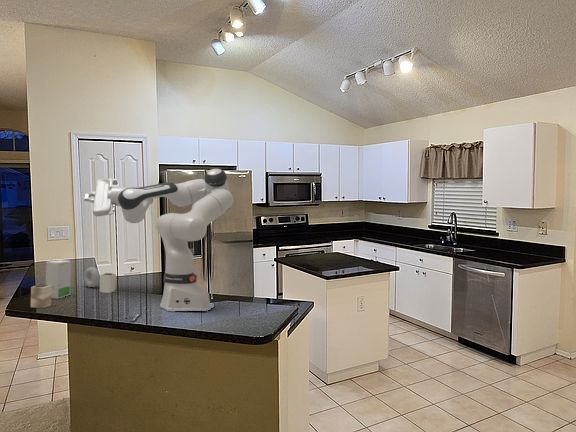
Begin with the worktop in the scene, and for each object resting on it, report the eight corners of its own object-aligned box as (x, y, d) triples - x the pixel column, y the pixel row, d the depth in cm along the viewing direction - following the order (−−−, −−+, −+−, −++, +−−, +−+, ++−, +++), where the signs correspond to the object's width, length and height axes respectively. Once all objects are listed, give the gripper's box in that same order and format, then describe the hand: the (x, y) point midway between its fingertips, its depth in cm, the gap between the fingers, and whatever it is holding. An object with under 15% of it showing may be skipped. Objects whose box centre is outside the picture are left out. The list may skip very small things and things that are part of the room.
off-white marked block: (115, 290, 200) (116, 273, 200) (109, 292, 195) (110, 275, 195) (105, 289, 200) (106, 272, 200) (99, 292, 195) (100, 274, 195)
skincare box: (57, 299, 178) (58, 262, 178) (43, 297, 180) (44, 261, 179) (71, 295, 187) (72, 260, 186) (58, 293, 188) (59, 259, 187)
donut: (101, 288, 203) (101, 267, 202) (94, 289, 200) (95, 268, 199) (88, 285, 208) (89, 265, 207) (81, 286, 205) (82, 266, 204)
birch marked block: (51, 305, 169) (51, 284, 169) (42, 308, 164) (43, 287, 164) (39, 304, 170) (40, 283, 169) (30, 307, 165) (31, 286, 164)
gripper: (115, 218, 192) (83, 219, 189) (119, 184, 204) (88, 185, 201) (113, 210, 188) (79, 211, 185) (116, 175, 199) (85, 176, 196)
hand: (84, 197), depth 193 cm, fingers closed
